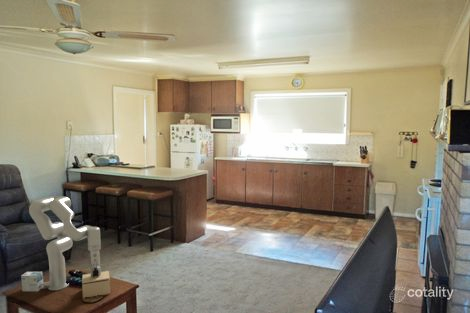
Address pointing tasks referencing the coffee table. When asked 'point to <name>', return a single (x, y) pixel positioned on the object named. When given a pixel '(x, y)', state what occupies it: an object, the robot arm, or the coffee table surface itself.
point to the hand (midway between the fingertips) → (95, 273)
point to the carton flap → (88, 278)
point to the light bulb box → (32, 281)
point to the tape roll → (98, 271)
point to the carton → (96, 288)
